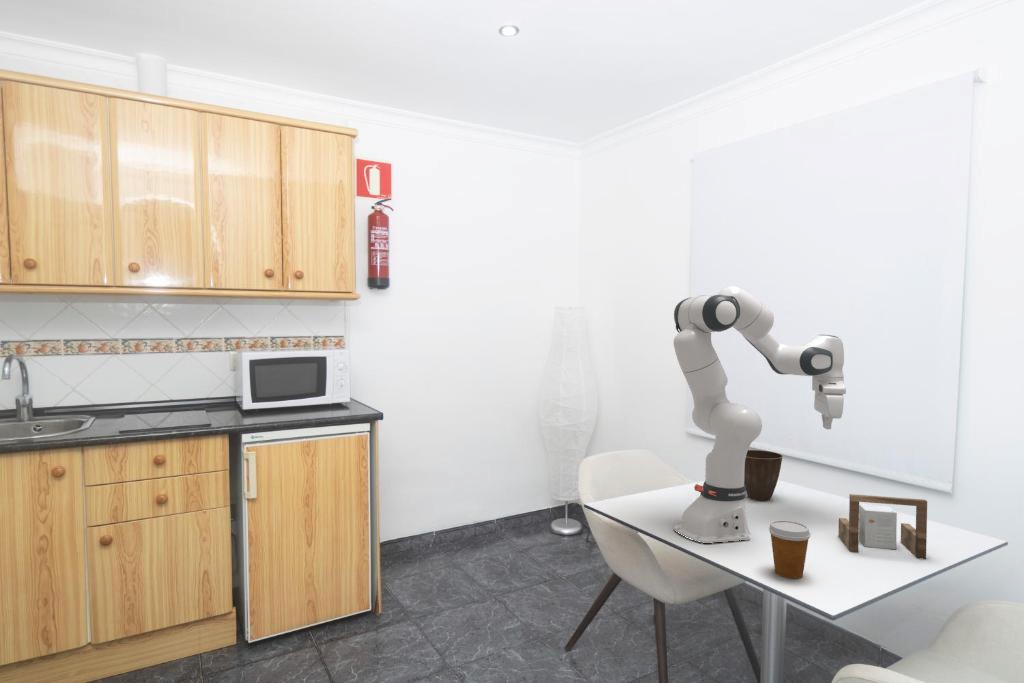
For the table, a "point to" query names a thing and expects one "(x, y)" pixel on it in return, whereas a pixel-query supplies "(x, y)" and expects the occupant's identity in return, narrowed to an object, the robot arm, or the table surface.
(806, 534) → the disposable coffee cup
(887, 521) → the small box
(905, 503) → the wooden archway
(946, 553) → the table surface
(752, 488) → the plant pot
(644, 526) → the table surface
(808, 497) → the table surface
